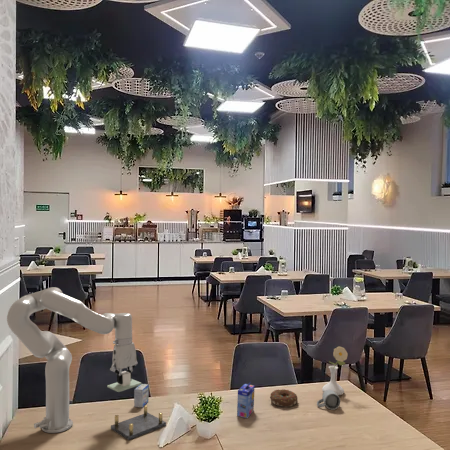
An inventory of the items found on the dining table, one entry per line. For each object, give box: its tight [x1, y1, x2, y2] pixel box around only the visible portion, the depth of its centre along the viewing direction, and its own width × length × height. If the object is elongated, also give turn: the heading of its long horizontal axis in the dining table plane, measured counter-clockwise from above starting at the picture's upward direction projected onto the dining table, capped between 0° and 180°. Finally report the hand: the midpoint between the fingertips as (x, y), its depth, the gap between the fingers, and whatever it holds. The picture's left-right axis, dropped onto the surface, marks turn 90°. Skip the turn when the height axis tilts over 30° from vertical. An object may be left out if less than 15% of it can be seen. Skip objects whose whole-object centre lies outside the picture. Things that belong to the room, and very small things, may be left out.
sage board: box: [106, 370, 142, 393], centre depth 196 cm, size 12×9×6 cm
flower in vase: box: [321, 346, 349, 396], centre depth 231 cm, size 13×11×25 cm
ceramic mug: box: [316, 390, 341, 411], centre depth 214 cm, size 11×8×8 cm
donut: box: [269, 388, 298, 408], centre depth 218 cm, size 14×14×5 cm
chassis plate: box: [110, 404, 167, 441], centre depth 190 cm, size 19×14×6 cm
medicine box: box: [133, 383, 149, 409], centre depth 215 cm, size 8×4×9 cm, turn 168°
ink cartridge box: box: [236, 381, 256, 419], centre depth 205 cm, size 10×6×14 cm, turn 158°
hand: (124, 381), depth 196 cm, fingers closed on sage board, 4 cm apart
